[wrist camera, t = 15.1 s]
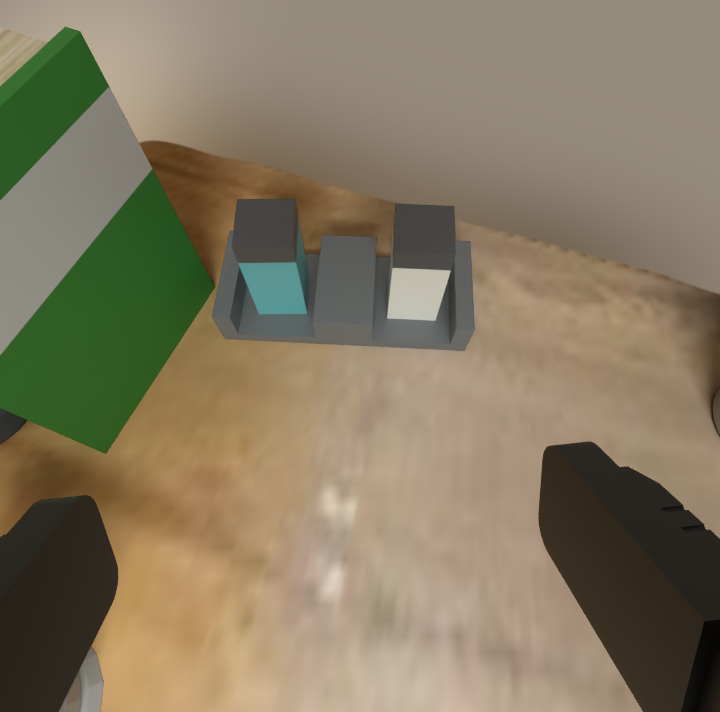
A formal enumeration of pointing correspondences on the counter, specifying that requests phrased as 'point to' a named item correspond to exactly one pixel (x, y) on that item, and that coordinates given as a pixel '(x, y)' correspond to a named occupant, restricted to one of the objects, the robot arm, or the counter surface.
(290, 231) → the grey-topped teal block
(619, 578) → the robot arm
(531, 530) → the counter surface
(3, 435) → the smart speaker
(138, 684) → the counter surface
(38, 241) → the hardback book
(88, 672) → the french press
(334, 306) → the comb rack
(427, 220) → the ivory plug
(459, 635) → the counter surface
